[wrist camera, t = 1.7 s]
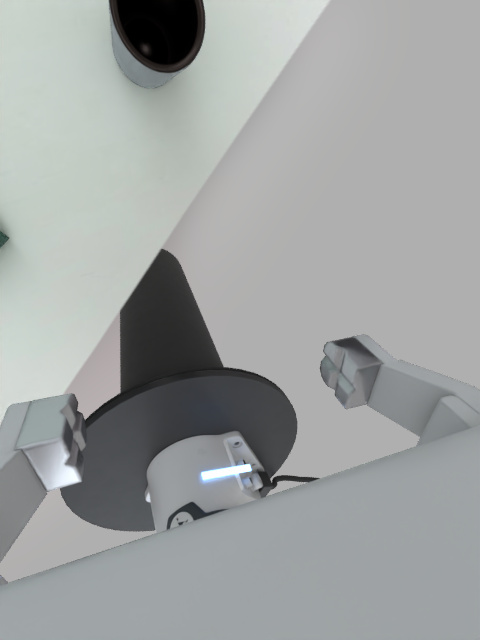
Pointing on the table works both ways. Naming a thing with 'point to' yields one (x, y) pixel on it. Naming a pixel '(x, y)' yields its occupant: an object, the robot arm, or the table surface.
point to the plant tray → (3, 239)
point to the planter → (156, 37)
